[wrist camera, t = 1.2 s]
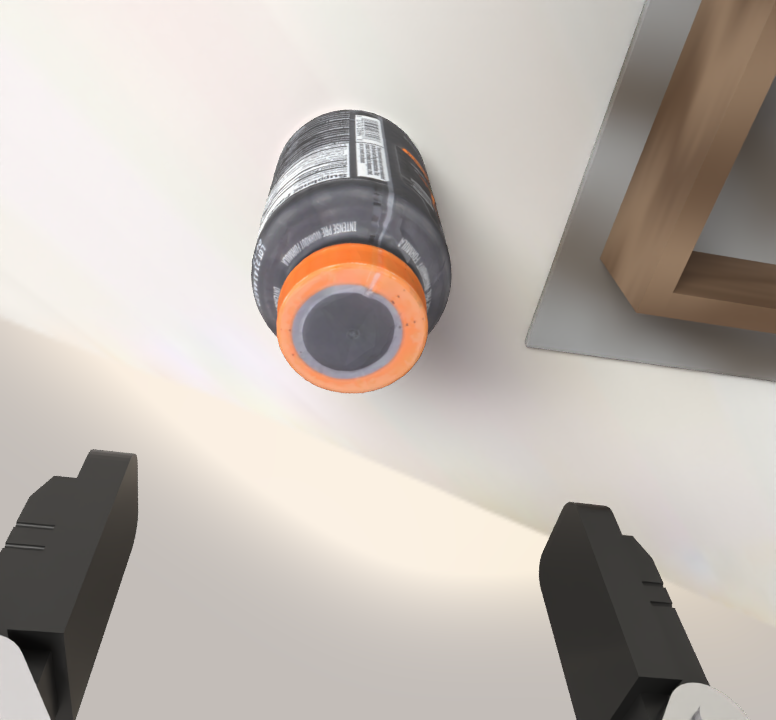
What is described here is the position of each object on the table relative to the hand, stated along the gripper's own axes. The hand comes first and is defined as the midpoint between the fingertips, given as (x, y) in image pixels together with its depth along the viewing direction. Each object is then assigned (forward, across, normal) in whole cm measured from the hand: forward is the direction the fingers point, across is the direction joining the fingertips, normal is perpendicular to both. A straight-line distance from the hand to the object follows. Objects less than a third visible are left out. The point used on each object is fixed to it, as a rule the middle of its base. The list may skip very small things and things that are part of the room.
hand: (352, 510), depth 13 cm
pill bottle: (+18, 0, 0) cm, 18 cm away
